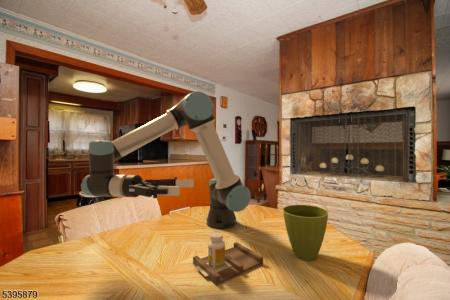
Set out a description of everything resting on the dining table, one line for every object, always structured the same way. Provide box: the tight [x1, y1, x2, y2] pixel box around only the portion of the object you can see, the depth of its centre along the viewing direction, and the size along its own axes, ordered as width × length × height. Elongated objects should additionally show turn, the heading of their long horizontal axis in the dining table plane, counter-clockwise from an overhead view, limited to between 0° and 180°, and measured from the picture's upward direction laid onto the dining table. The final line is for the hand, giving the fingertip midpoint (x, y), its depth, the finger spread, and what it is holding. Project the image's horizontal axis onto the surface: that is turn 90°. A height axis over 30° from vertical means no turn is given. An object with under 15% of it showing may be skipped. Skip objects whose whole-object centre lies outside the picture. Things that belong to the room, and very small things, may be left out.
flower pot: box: [282, 204, 329, 261], centre depth 76 cm, size 15×15×16 cm
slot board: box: [192, 241, 264, 286], centre depth 71 cm, size 14×20×2 cm
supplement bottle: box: [207, 232, 226, 269], centre depth 68 cm, size 5×5×10 cm
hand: (187, 186), depth 70 cm, fingers open, 13 cm apart
